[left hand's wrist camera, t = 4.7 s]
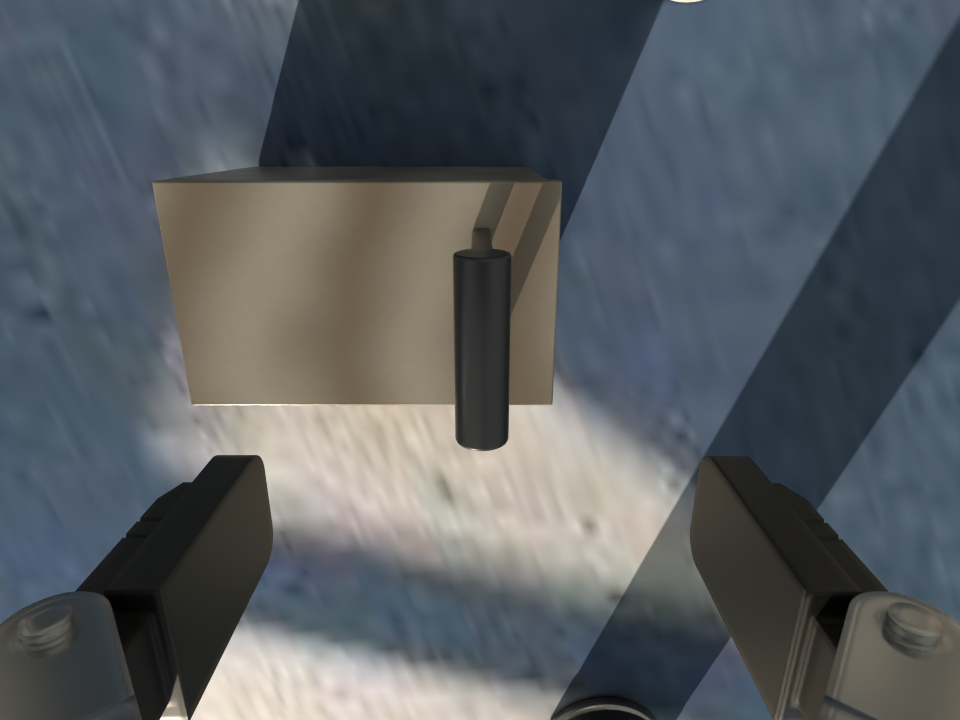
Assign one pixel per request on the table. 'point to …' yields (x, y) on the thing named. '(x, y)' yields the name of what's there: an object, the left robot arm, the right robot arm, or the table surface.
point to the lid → (367, 293)
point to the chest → (371, 173)
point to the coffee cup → (686, 0)
